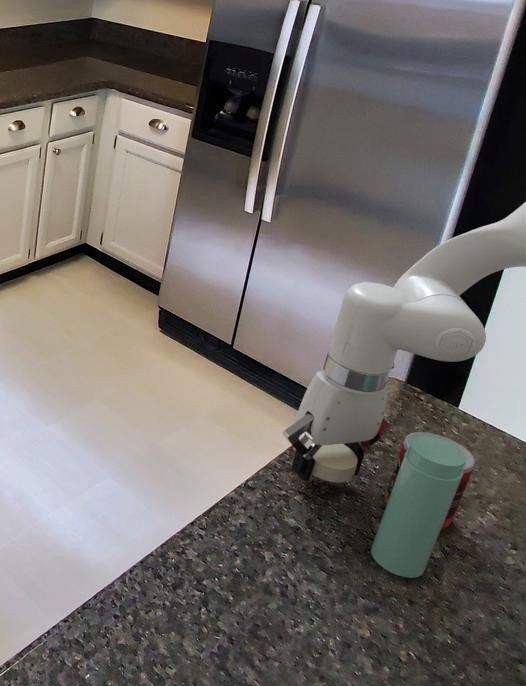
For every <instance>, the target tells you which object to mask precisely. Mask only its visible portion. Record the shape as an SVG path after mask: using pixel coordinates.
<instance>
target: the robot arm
mask: <svg viewBox="0 0 526 686" xmlns="http://www.w3.org/2000/svg"><path fill="white" fill-rule="evenodd" d="M522 267H523V268H524V267H526V201H525V202H524V203H522V204H521V205H520V206H519V207H518V208H516V209H515V210H514V211H513V212H511V213H510V214H509V215H507V216H506V217H504V218H503V219H501V220H499V221H497V222H496V221H495V222H494V223H490V224H487V225H483V226H480V227H477V228H475V229H471V230H469V231H467V232H464V233H461V234H459V235H456V236H454V237H451V238H449V239H446V241H444V242H442V243H440V244H438V245H437V246H435V247H434V248H432V249H431V250H429V251H428V252H427V253H426V254H425V255H424V256H422V257H421V258H420V259H419V260H418V261H416V262H415V263H414V264H413V265H412V266H411V267H410V268H409V269H408V270H406V271H405V272H404V273H403V274H402V275H401V276H400V277H399V279H398V280H397V281H396V283H394V285H393V286H389V285H387V284H383V283H378V282H370V281H369V282H368V281H365V282H364V281H363V282H357V283H355V284H352V285H351V286H349V288H347V289H346V291H345V293H344V296H343V297H342V301H341V305H340V309H339V312H338V316H337V318H336V322H335V326H334V328H333V329H334V330H333V333H332V336H331V340H330V343H329V347H328V350H327V352H326V357H325V359H324V364H323V367H322V370H320V371H317V372H316V373H315V375H313V378H312V380H311V381H310V383H309V385H308V386H307V389H306V390H305V392H304V395H303V396H302V397H303V398H302V400H301V403H300V405H299V408H298V411H297V414H296V417H295V420H294V423H293V424H291V425H290V426H288V427H287V428H286V429H284V430H283V431H282V435H283V436H284V437H285V439H286V440H287V442H288V443H289V444H290V445H291V446H292V447H293V448H294V449H295V454H294V457H293V460H292V464H291V469H292V470H293V471H294V472H295V473H296V475H297V476H299V478H300V479H301V480H302V481H303V482H310V480H311V477H312V471H313V468H314V464H315V459H314V458H313V456H314V455H315V454H316V453H317V451H318V450H319V449H320V448H321V447H322V445H334V444H344V445H345V446H347V447H348V448H350V449H351V450H352V451H353V452H354V453H355V455H356V456H357V460H358V462H357V465H356V466H357V467H356V471H355V474H354V475H353V477H354V476H356V477H357V476H358V475H359V472H360V470H361V467H362V465H363V464H362V463H363V461H364V458H365V454H368V453H370V452H371V449H372V447H371V446H373V445H375V443H377V442H378V441H379V440H380V439H381V436H383V435H385V434H386V433H387V432H388V430H390V429H391V428H392V424H391V423H389V422H388V420H386V419H385V418H384V415H385V411H386V407H387V401H388V392H389V383H388V381H389V377H390V374H391V372H392V370H393V369H394V368H395V359H396V356H397V353H398V351H399V350H400V351H403V352H406V353H410V354H413V355H416V356H420V357H422V358H423V357H424V358H427V359H431V360H435V361H440V362H448V363H449V362H450V363H452V362H454V363H455V362H462V361H466V360H469V359H471V358H474V357H475V356H477V355H478V354H479V353H480V352H481V351H482V350H483V348H484V347H485V344H486V341H487V332H486V329H485V327H484V324H483V323H482V322H481V320H480V319H479V317H478V316H477V315H476V314H475V312H474V311H473V310H472V309H471V308H470V307H469V306H468V304H467V303H466V302H465V301H464V299H462V297H461V295H462V294H463V293H465V292H466V291H468V289H469V288H470V287H472V286H473V285H475V284H476V283H477V282H479V281H481V280H482V279H485V277H487V276H489V275H491V274H494V273H496V272H500V271H501V270H502V271H503V270H507V269H511V268H522ZM309 439H310V440H311V441H312V442H313V443H312V444H311V445H310V446H309V448H308V449H307V448H306V447H305V446H304V445H305V444H306V442H307V441H308V440H309Z"/></svg>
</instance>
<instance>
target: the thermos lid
mask: <svg viewBox="0 0 526 686" xmlns="http://www.w3.org/2000/svg"><path fill="white" fill-rule="evenodd" d="M312 443H313V442H312V441H311V440H310V439H309V440H308V441H307V442H306V444H305V445H304V446H305V447H306V448H307V449H308V448H309V446H310V445H311V444H312ZM344 444H345V443H344ZM344 444H334V445H322V447H321V448H320V449H319V450H318V451H317V453H316V454H315V455H314V456H313V458H314V459H315V464H314V468H313V471H312V474H311V476H314V477H315V478H318V479H321V480H323V481H325V482H330V483H345V482H346V483H347V482H348V481H351V479H352V478H353V477H354V476H353V475H354V474H355V471H356V467H357V466H356V465H357V462H358V460H357V456H356V455H355V453H354V452H353V451H352V450H351V449H350V448H348V447H347V446H345V445H344Z"/></svg>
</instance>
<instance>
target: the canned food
mask: <svg viewBox="0 0 526 686" xmlns="http://www.w3.org/2000/svg"><path fill="white" fill-rule="evenodd" d="M419 436H431V437H436V438H439V439H442V440H445V441H447V442H449V443H451V444H453V445H455V446H456V447H458V448H459V449H460V450H461V451H462V452H463V453H464V455H465V457H466V465H465V467H464V468H463V469H462V470H463V476H462V479H461V481H460V484H459V486H458V489H457V491H456V494H455V496H454V499H453V501H452V504H451V506H450V509H449V511H448V514H447V516H446V519H445V521H444V524H443V526H442V529H441V531H444V530H446V529H447V528H448V527H449V526H450V525H451V523H452V522H453V520H454V517H455V514H456V512H457V511H458V510H457V509H458V507H459V505H460V502H461V500H462V497H463V495H464V493H465V491H466V488H467V486H468V483H469V481H470V478H471V477H472V473H473V471H474V467H475V463H476V460H475V457H474V455H473V454H472V453H471V452H470V451H469V450H468V449H467V448H466V447H464V446H463V445H462V444H460V443H458V442H456V441H455V440H452V439H450V438H448V437H445V436H442V435H439V434H436V433H432V432H424V431H419V432H417V431H416V432H411V433H409V434H407V435H406V437H405V438H404V439H403V442H402V445H401V448H400V450H399V453H398V456H397V459H396V462H395V464H394V467H393V471H392V473H391V477H390V478H389V482H388V485H387V488H386V491H385V494H384V502H385V506H386V505H387V502H388V500H389V497H390V494H391V491H392V488H393V486H394V483H395V480H396V477H397V474H398V472H399V469H400V466H401V463H402V461H403V458H404V455H405V452H406V451H407V450H409V448H410V442H411V440H412V439H414V438H416V437H419Z"/></svg>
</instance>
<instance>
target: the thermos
mask: <svg viewBox="0 0 526 686" xmlns="http://www.w3.org/2000/svg"><path fill="white" fill-rule="evenodd" d="M465 465H466V457H465V455H464V453H463V452H462V451H461V450H460V449H459V448H458V447H456V446H455V445H453V444H451V443H449V442H447V441H445V440H442V439H439V438H436V437H431V436H419V437H416V438H414V439H412V440H411V442H410V448H409V450H407V451H406V452H405V455H404V458H403V461H402V463H401V466H400V469H399V472H398V474H397V477H396V480H395V483H394V486H393V488H392V491H391V494H390V497H389V500H388V502H387V505H386V504H385V508H384V511H383V514H382V516H381V520H380V522H379V525H378V527H377V531H376V533H375V536H374V539H373V541H372V545H371V547H370V553H371V554H370V555H371V557H372V558H373V560H374V561H375V563H377V565H379V566H380V567H382V568H383V569H384V570H386V571H387V572H389V573H391V574H393V575H396V576H399V577H402V578H409V579H413V578H419V577H421V576H422V575H424V573H425V571H426V568H427V565H428V563H429V560H430V559H431V556H432V553H433V551H434V549H435V547H436V543H437V541H438V538H439V536H440V533H441V531H442V530H441V529H442V526H443V524H444V521H445V519H446V516H447V514H448V511H449V509H450V506H451V504H452V501H453V499H454V496H455V494H456V491H457V489H458V486H459V484H460V481H461V479H462V476H463V470H462V469H463V468H464V467H465Z"/></svg>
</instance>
